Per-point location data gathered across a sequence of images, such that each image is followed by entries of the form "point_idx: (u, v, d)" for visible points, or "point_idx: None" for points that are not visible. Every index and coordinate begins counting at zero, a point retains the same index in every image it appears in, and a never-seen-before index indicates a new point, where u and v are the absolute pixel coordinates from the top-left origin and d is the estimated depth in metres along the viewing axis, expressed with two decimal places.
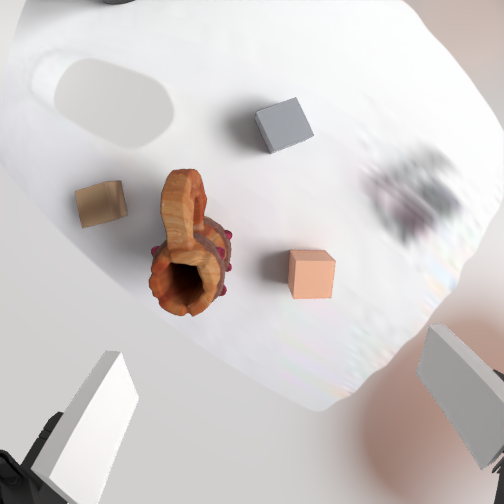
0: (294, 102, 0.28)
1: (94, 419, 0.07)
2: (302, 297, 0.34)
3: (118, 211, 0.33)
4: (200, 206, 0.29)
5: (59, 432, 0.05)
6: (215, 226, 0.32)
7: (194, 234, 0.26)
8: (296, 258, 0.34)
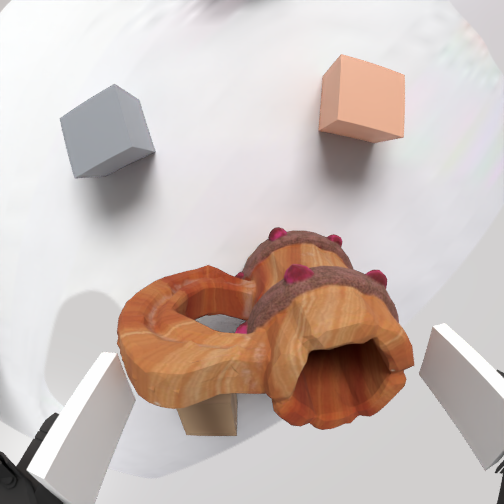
0: (66, 120, 0.15)
1: (89, 420, 0.07)
2: (402, 121, 0.15)
3: None
4: (211, 286, 0.16)
5: (54, 433, 0.05)
6: (257, 257, 0.18)
7: (249, 322, 0.12)
8: (333, 119, 0.16)
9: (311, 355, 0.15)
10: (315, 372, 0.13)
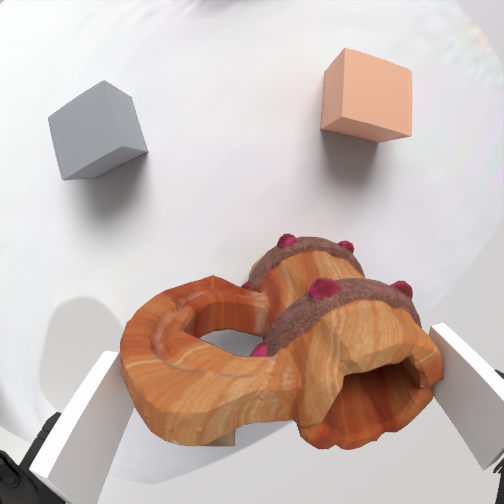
0: (54, 119, 0.13)
1: (92, 420, 0.07)
2: (409, 118, 0.14)
3: None
4: (219, 299, 0.15)
5: (57, 432, 0.05)
6: (266, 266, 0.17)
7: (270, 342, 0.11)
8: (337, 116, 0.15)
9: None
10: None
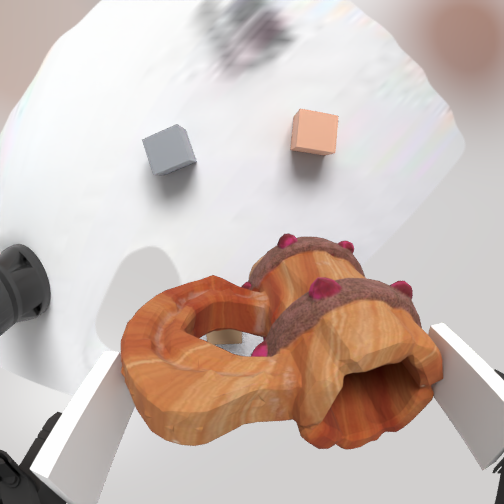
0: (146, 141, 0.31)
1: (92, 419, 0.07)
2: (334, 143, 0.32)
3: None
4: (220, 299, 0.15)
5: (58, 432, 0.05)
6: (266, 266, 0.17)
7: (270, 342, 0.11)
8: (295, 145, 0.33)
9: None
10: None
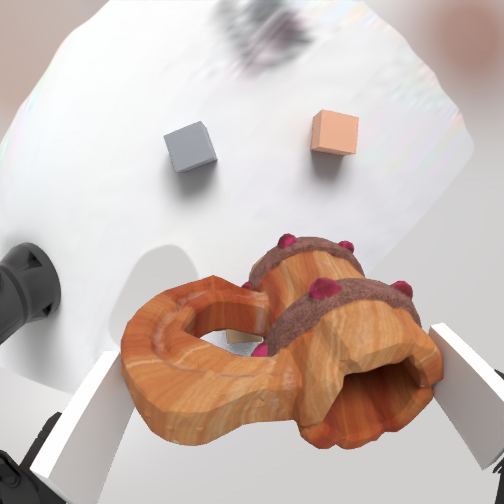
0: (168, 137, 0.31)
1: (92, 419, 0.07)
2: (355, 144, 0.32)
3: None
4: (220, 299, 0.15)
5: (58, 432, 0.05)
6: (266, 266, 0.17)
7: (270, 342, 0.11)
8: (317, 145, 0.33)
9: None
10: None
